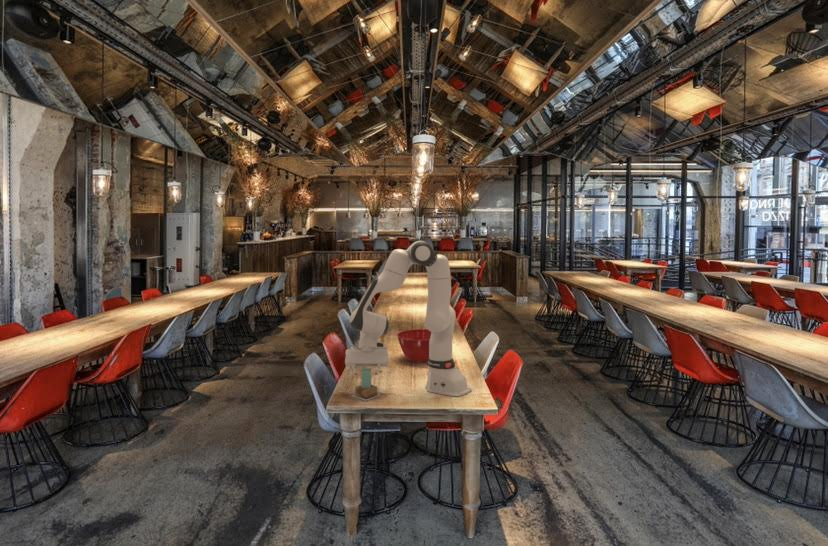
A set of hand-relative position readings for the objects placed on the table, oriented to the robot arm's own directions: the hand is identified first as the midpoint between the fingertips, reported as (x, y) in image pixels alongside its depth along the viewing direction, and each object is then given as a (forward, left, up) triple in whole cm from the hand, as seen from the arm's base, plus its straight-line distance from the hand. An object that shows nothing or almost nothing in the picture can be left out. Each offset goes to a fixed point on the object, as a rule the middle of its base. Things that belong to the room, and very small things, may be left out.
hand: (366, 374), depth 226 cm
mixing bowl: (+20, -63, -11) cm, 67 cm away
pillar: (0, 0, -6) cm, 6 cm away
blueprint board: (0, 0, -10) cm, 10 cm away
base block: (0, 0, -10) cm, 10 cm away
